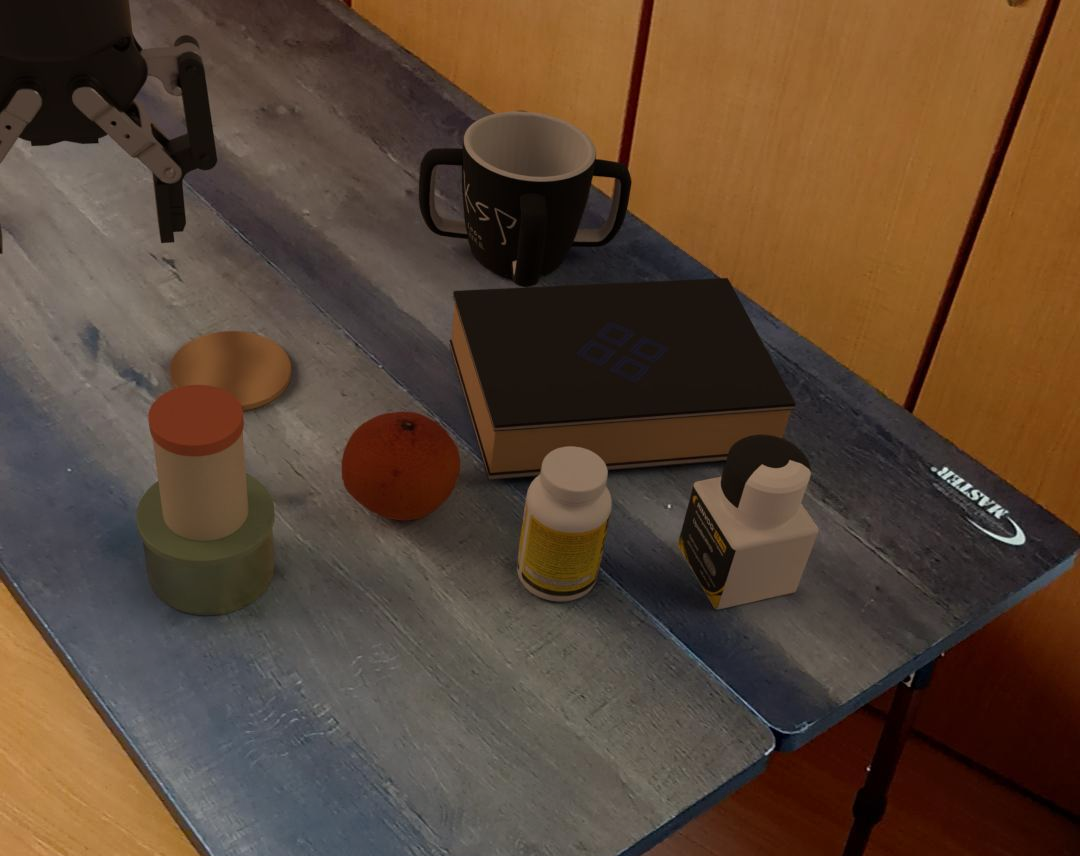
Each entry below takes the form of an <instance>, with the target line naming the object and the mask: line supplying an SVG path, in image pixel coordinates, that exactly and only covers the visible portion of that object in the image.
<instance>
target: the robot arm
mask: <svg viewBox="0 0 1080 856" xmlns="http://www.w3.org/2000/svg"><path fill="white" fill-rule="evenodd" d="M130 6H131V5H130V0H0V164H2V163H3V161H4V159H5V158H6V157H7V155H8V154H9V152H10V151H11V149H12V148H13V146H14V145H15V144H16V142H17V140H18V139H21V140H23V141H27V142H30V146H31V147H44V146H52V145H55V144H58V143H62V142H70V143H74V144H80V145H93V144H100V142H99V139H102V138H104V137H107V136H109V137H110V138H111V139H112V140H113V141H114V142H115V143H116V144H117V145H118V146H119V147H120V148H121V149H122V150H123V151H125V152H126V153H127V154H128V155H129V156H130V157H131V158H132V159H138V160H139V161H140V162H141V164H144V166H145V167H146V168H147V169H148V170H149V171H150V172H151V173H152V174H151V175H152V181H153V182H152V183H153V191H154V199H155V200H154V201H155V208H156V217H157V226H158V232H159V239H160V244H170V243H171V244H172V243H175V233H183V232H184V230H185V227H186V225H187V217H186V208H185V196H184V186H183V181H184V178H185V177H186V175H187V174H188V173H190V172H193V171H194V170H197V169H198V170H201V171H210V170H212V169H214V168H215V167H216V165H217V164H218V155H217V148H216V141H215V140H216V139H215V133H214V126H213V120H212V113H211V105H210V99H209V92H208V86H207V85H208V84H207V79H206V72H205V65H204V62H203V57H202V53H201V49H200V44H199V42H198V40H197V39H196V38H195V37H194V36H192V35H189V34H188V35H187V34H184V35H181V36H179V37H177V38H176V39H175V41H174V43H173V46H165V47H164V46H163V47H152V48H151V47H149V48H143V47H142V46H141V45H140V43H139V42H138V40H137V39H136V37H135V34H134V32H133V25H132V16H131V7H130ZM148 77H154V78H156V79H158V80H159V81H160V82H161V83H162V86H163V88H164V90H165V92H166V93H168V94H169V95H171V96H175V97H180V96H181V101H182V107H183V113H184V114H183V115H184V118H185V119H184V120H185V125H186V131H187V133H184V134H182V135H179V136H176V137H174V138H171V136H170V135H169V134H168V133H167V132H166V131H165V130H164V129H163V128H162V127H161V126H159V124H158V123H157V122H156V121H155V120H154V119H153V118H152V117H151V115H150V113H149V112H148V110H147V109H146V108H145V106H144V105H143V104H142V103H141V102H140V101H139V100H138V99H137V98H136V97H137V96H138V94H139V93H140V91H141V90H142V88H143V87H144V85H146V82H147V79H148ZM3 246H4V245H3V231H2V225H1V224H0V255H3V253H4V251H3Z"/></svg>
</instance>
